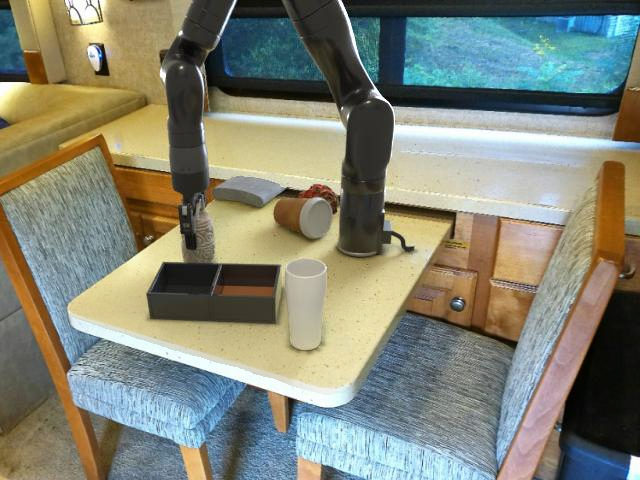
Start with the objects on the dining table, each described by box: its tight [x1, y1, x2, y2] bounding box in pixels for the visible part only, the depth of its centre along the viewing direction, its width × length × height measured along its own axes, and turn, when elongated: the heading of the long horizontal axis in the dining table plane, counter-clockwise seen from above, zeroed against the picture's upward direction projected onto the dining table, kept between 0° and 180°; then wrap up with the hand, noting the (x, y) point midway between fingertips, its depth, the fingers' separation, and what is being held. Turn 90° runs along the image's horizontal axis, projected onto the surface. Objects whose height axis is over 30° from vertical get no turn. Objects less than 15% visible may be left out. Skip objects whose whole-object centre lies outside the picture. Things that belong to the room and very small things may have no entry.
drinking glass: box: [284, 257, 328, 351], centre depth 100 cm, size 7×7×15 cm
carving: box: [180, 211, 216, 263], centre depth 126 cm, size 6×8×12 cm
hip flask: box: [211, 176, 288, 208], centre depth 162 cm, size 16×4×20 cm
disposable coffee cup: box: [272, 197, 334, 240], centre depth 138 cm, size 10×10×12 cm
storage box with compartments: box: [145, 261, 283, 325], centre depth 114 cm, size 24×12×6 cm, turn 82°
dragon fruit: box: [296, 183, 340, 216], centre depth 146 cm, size 8×8×12 cm
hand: (196, 239), depth 126 cm, fingers open, 8 cm apart
